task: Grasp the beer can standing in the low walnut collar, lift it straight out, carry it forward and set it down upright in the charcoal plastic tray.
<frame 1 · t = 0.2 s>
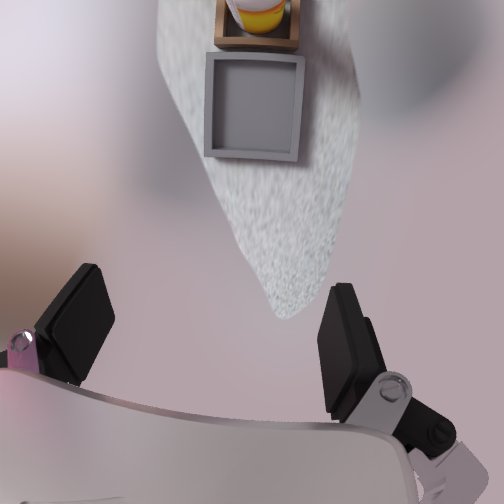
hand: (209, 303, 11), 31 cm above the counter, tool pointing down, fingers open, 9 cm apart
collar: (258, 15, 27), on the counter
tray: (253, 104, 34), on the counter
beer can: (258, 16, 27), resting in collar
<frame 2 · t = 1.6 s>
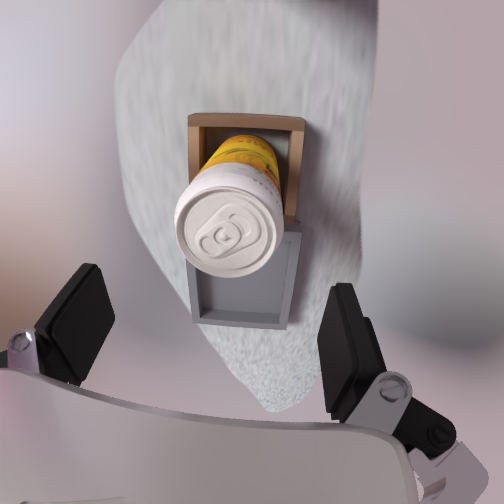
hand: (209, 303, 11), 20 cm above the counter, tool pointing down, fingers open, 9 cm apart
collar: (245, 163, 27), on the counter
tray: (241, 271, 34), on the counter
beer can: (246, 162, 28), resting in collar
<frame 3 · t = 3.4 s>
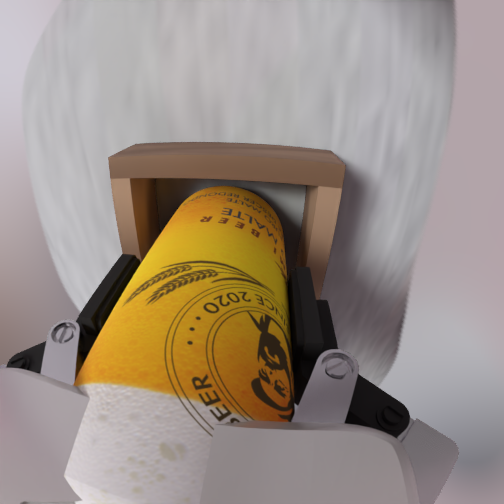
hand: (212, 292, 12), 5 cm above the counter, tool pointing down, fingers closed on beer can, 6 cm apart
collar: (227, 232, 16), on the counter
beer can: (228, 231, 16), resting in collar, touching gripper
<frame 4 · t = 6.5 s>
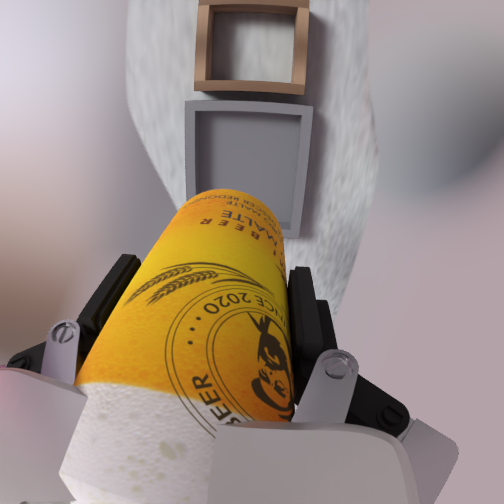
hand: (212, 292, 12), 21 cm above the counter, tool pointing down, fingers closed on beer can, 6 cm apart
collar: (252, 46, 23), on the counter
tray: (247, 165, 30), on the counter
beer can: (227, 234, 16), point 16 cm above the counter, touching gripper
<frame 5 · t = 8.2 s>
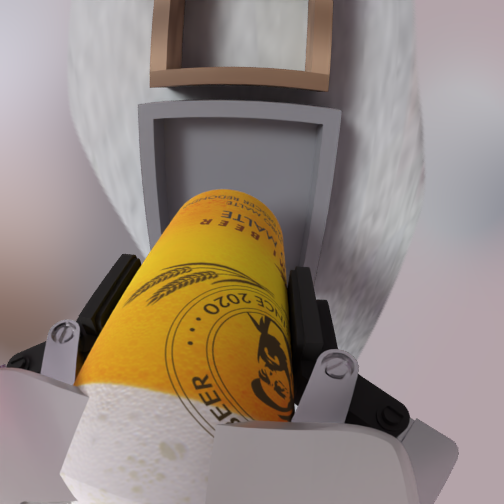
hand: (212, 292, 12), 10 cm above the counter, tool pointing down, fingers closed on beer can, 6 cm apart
collar: (244, 16, 13), on the counter
tray: (237, 198, 20), on the counter
beer can: (227, 235, 16), point 5 cm above the counter, touching gripper
when the fingers open (7 cm above the counter, at t = 9.5 s): beer can stays where it is, resting on tray.
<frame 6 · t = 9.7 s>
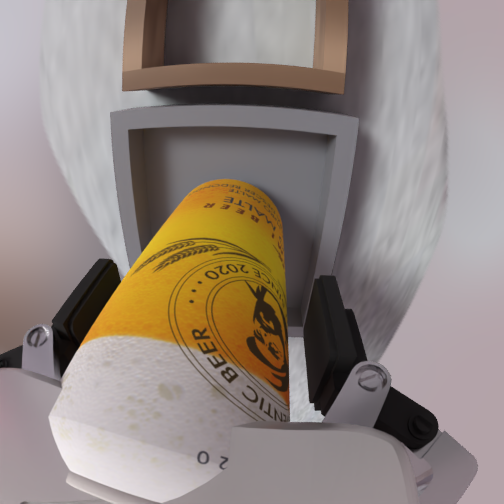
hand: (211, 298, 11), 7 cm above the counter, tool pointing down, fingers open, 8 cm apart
collar: (239, 4, 11), on the counter
tray: (231, 221, 17), on the counter
beer can: (230, 223, 17), resting on tray
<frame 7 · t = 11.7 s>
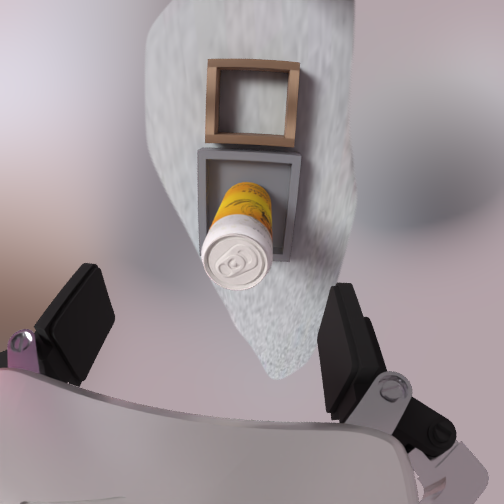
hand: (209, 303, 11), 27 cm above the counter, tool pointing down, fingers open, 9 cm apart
collar: (252, 101, 31), on the counter
tray: (247, 202, 37), on the counter
beer can: (247, 202, 37), resting on tray
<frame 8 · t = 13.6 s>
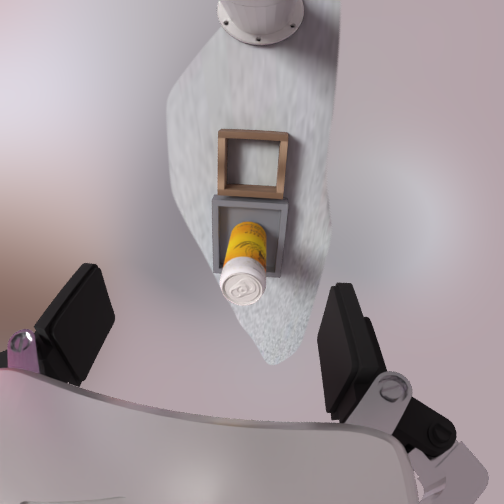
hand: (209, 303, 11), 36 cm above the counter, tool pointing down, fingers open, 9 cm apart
collar: (252, 161, 44), on the counter
tray: (249, 234, 50), on the counter
beer can: (248, 234, 50), resting on tray
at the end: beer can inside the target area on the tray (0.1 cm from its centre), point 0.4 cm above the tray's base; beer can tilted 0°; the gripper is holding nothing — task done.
